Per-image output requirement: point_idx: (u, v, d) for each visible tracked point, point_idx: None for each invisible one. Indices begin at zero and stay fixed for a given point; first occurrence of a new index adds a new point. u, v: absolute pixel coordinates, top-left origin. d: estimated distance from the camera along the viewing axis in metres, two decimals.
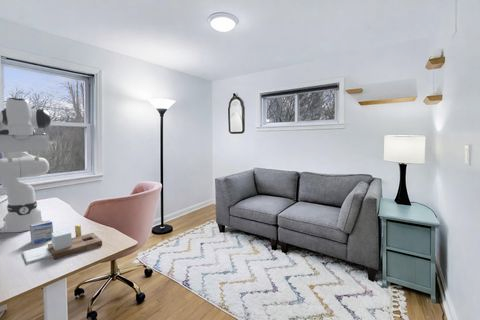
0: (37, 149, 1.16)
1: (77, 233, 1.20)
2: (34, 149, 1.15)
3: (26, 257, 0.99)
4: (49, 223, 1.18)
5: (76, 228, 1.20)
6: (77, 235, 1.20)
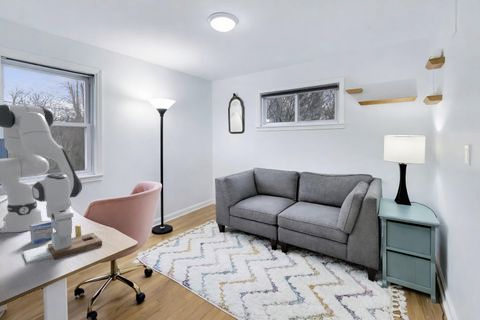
0: None
1: (77, 233, 1.20)
2: None
3: (26, 257, 0.99)
4: (49, 223, 1.18)
5: (76, 228, 1.20)
6: (77, 235, 1.20)
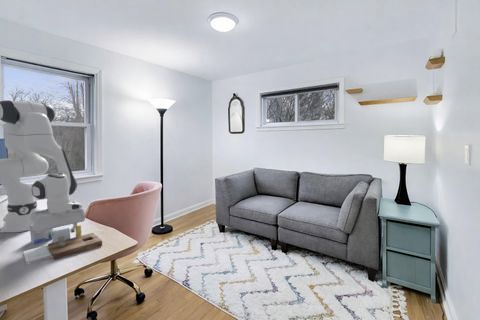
0: None
1: (77, 233, 1.20)
2: None
3: (26, 257, 1.00)
4: None
5: (76, 228, 1.20)
6: (77, 235, 1.20)
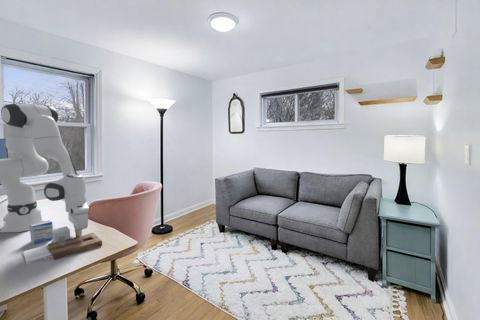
0: None
1: None
2: None
3: (26, 257, 1.00)
4: (49, 223, 1.18)
5: (76, 228, 1.20)
6: (77, 235, 1.20)
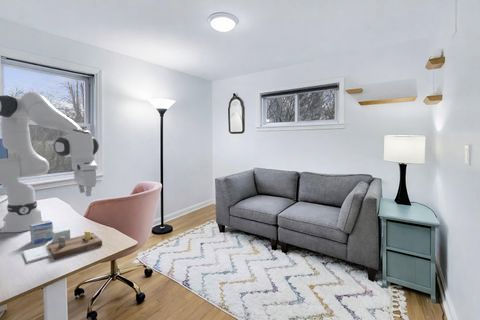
0: None
1: (87, 239, 1.13)
2: None
3: (26, 256, 1.00)
4: (49, 223, 1.18)
5: (86, 234, 1.12)
6: None
